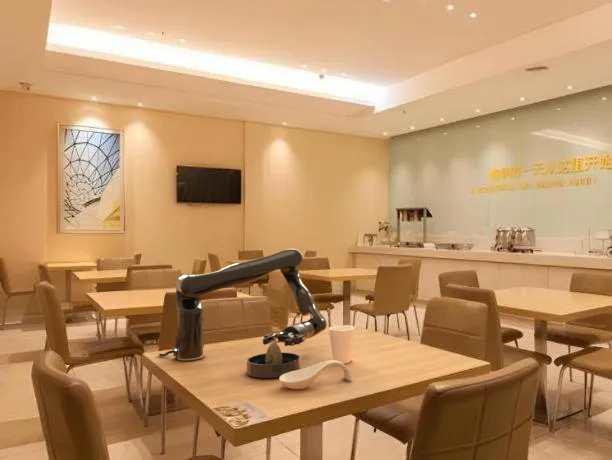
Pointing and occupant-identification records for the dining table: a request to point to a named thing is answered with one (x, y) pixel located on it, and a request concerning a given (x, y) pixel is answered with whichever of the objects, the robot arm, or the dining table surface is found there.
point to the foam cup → (341, 342)
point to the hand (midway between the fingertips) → (274, 342)
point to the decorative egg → (273, 354)
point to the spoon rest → (309, 374)
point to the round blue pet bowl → (272, 366)
